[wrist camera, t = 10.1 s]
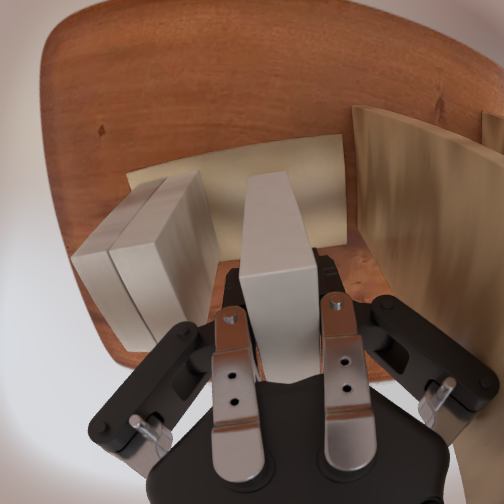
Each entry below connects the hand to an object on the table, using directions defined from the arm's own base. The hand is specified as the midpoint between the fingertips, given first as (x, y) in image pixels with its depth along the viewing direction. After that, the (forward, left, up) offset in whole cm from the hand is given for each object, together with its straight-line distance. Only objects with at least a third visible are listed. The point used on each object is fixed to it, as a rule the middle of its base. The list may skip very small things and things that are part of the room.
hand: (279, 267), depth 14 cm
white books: (0, -2, -8) cm, 9 cm away
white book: (0, 0, -5) cm, 5 cm away
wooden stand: (-2, +14, -8) cm, 16 cm away
